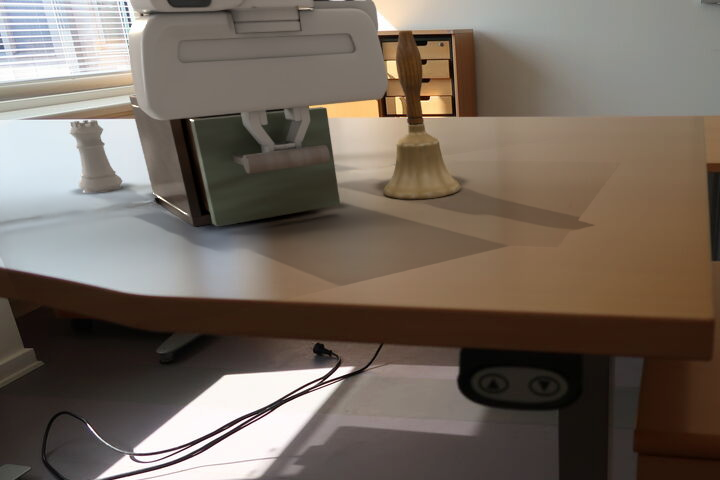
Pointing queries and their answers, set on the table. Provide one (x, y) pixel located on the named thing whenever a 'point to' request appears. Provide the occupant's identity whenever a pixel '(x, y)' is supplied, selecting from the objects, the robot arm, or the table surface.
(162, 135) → the cabinet
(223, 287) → the table surface
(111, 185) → the rook chess piece
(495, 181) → the table surface
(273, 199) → the drawer
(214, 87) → the robot arm
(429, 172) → the hand bell
